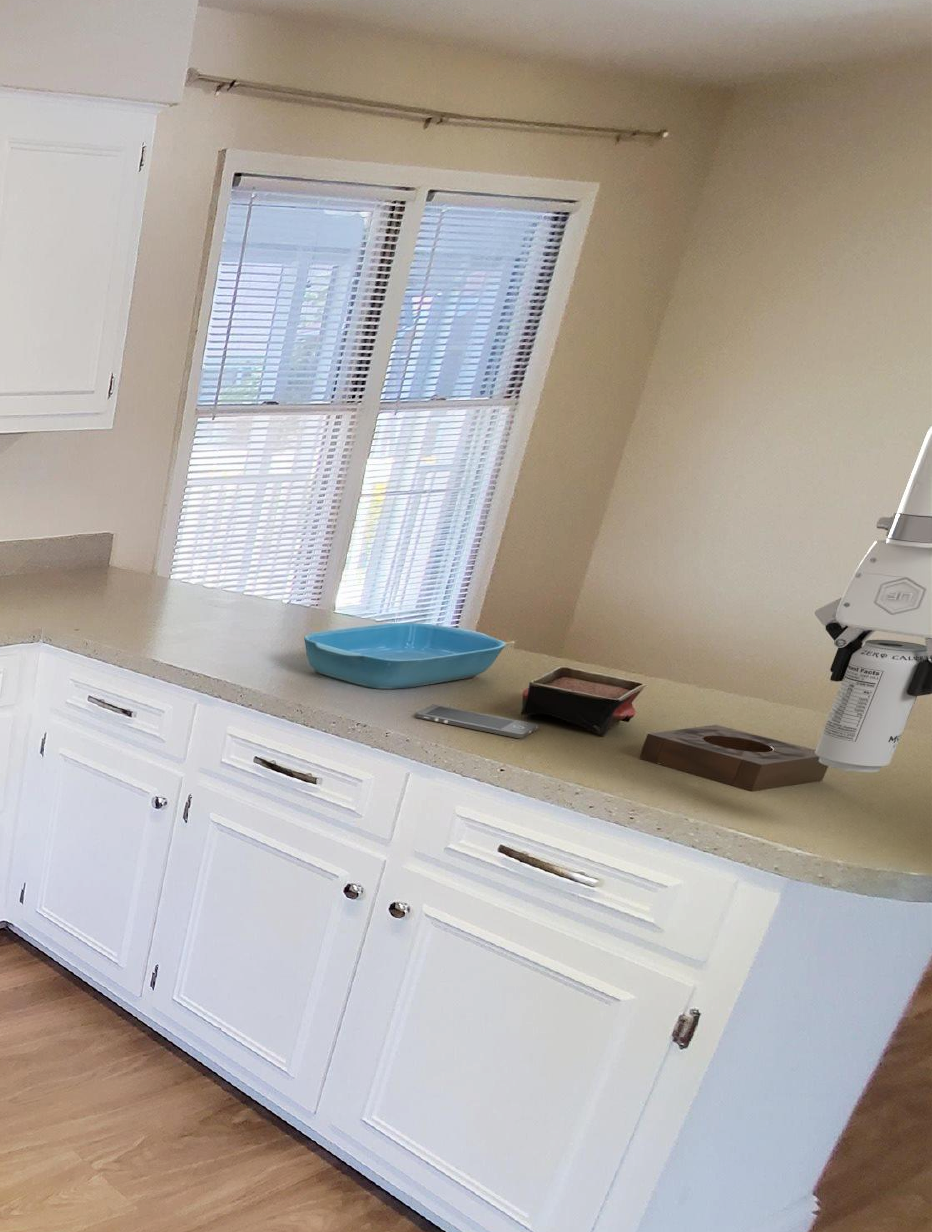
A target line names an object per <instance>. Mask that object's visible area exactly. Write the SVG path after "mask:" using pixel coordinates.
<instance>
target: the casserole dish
mask: <svg viewBox="0 0 932 1232" xmlns="http://www.w3.org/2000/svg"><path fill="white" fill-rule="evenodd" d="M303 639H304V646H305V647H304V648H305V652H306V658H307V661H308V663H309V665H310V666H311V668H312V670H314V671H315V672H316V673H318V674H321V675H324V676H326V677H330V678H333V679H335V680H336V679H337V680H339V681H344V682H347V683H351V684H354V685H356V686H357V685H358V686H362V687H366V688H370V689H371V688H372V689H378V690H379V689H380V690H400V689H408V688H409V689H410V688H416V687H424V686H429V684H430V685H435V684H441V683H447V682H454V681H458V680H465V679H470V678H473V677H476V676H479V675H481V674H483V673H484V672H486V671H487V670H488V669H490V667H491V666H492V665H493V664H494V663H495V661H496V660H497V658H498V656H500V654H501V652H502V651H503V650H504V649H505V647H506V646H507V643H506V642H505V641H503V640H500V639H498V638H495V637H493V636H490V635H488V634H485V633H483V632H479V631H476V630H471V629H467V628H460V627H454V626H445V625H437V624H428V623H422V622H421V623H419V622H393V623H380V624H374V625H364V626H357V627H356V626H355V627H349V628H339V629H331V630H326V631H325V630H324V631H318V632H312V633H308V634H306V635H304V637H303Z"/></svg>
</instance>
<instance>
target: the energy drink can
mask: <svg viewBox="0 0 932 1232" xmlns="http://www.w3.org/2000/svg"><path fill="white" fill-rule="evenodd" d="M927 657H928V654H927V648H926V644H921V643H916V642H910V641H902V640H891V639H866V640H865V641H864V644H863V645H862V647H861V648H860V649H859V650H857V651H856V652H855V653H853V654H852V657H851V659H850V662H849V665H848V667H847V670H846V672H845V675H844V678H843V680H842V681H841V683H840V686H839V689H838V691H837V694H836V695H835V699H834V701H833V704H832V706H831V710H830V712H829V715H828V717H827V719H826V722H825V724H824V728H823V730H822V733H821V735H820V738H819V740H818V742H817V745H816V748H815V750H816V751H815V754H816V755H817V756H819V762H820V763H822V764H824V765H827V766H828V767H830V768H834V769H837V770H838V769H839V770H843V771H847V772H848V771H849V772H857V773H877V772H879V771H880V770H881V768H883V767H886V766H889V765H890V763H891V761H892V759H893V756H894V754H895V752H896V749H897V746H898V744H899V742H900V739H901V737H902V734H903V732H904V729H905V727H906V725H907V723H908V720H909V718H910V716H911V713H912V710H913V708H914V705H915V702H916V700H917V698H918V696H911V695H908V694H907V691H908V688H909V686H910V683H911V681H912V678H913V676H914V673H915V671H916V668H917V666H918V664H919V663H920V662H922V661H926V660H927Z"/></svg>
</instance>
